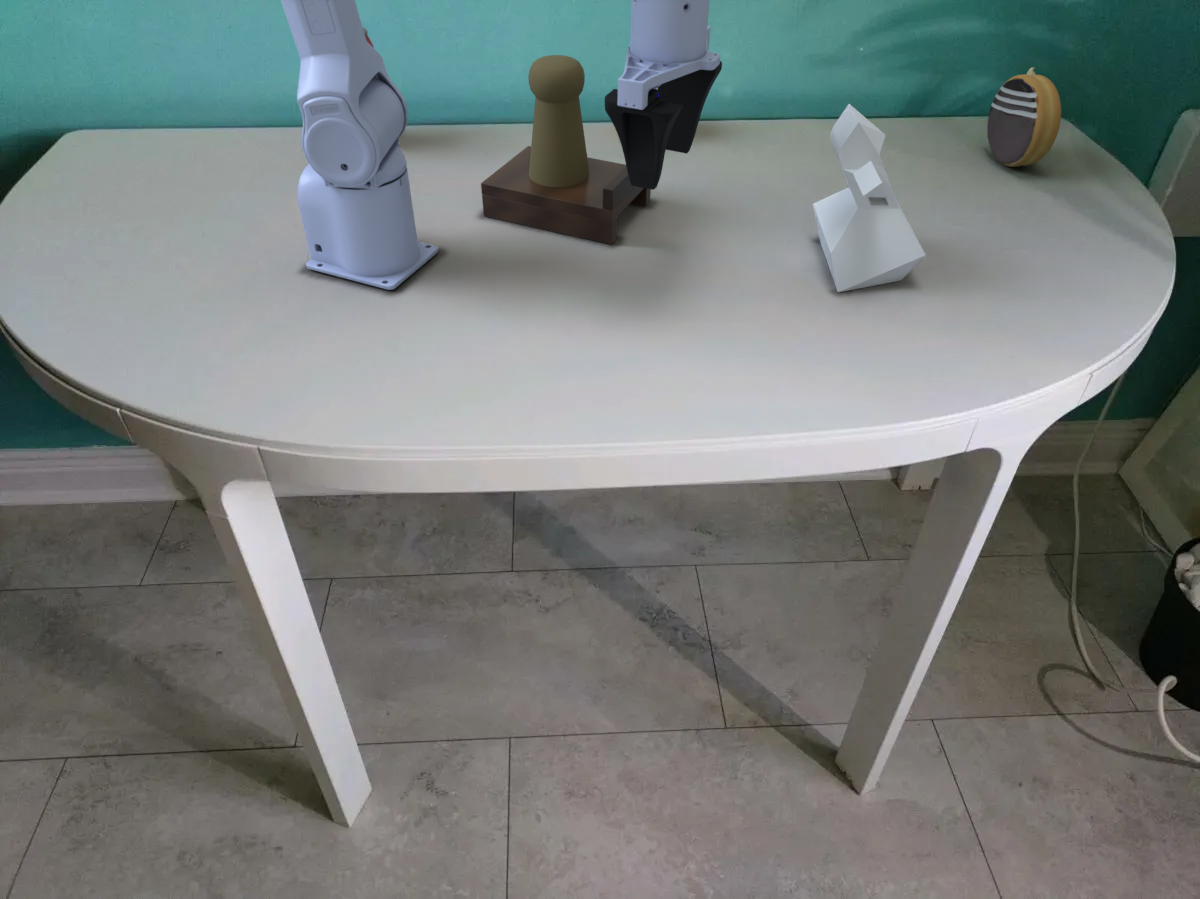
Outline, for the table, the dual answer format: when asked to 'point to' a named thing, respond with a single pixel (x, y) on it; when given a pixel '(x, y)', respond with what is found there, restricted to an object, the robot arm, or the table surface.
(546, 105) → the olive chess pawn
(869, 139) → the white faceted sculpture
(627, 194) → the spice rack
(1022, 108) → the doughnut
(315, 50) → the robot arm
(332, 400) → the table surface
